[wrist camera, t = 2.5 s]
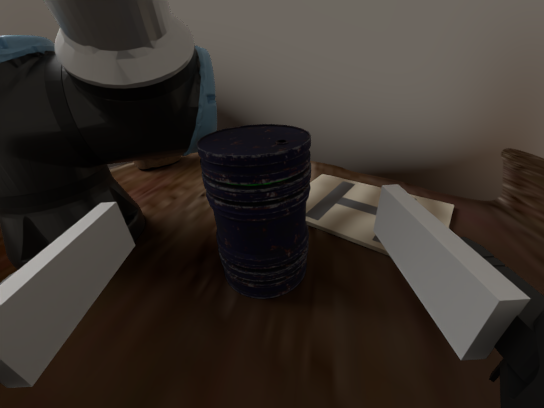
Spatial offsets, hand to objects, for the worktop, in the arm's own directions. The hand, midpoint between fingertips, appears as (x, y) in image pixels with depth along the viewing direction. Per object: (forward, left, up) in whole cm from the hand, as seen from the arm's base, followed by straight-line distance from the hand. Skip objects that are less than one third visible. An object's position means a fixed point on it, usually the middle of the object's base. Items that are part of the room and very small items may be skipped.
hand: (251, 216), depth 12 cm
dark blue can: (-7, +8, -14) cm, 17 cm away
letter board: (-2, +25, -14) cm, 29 cm away
